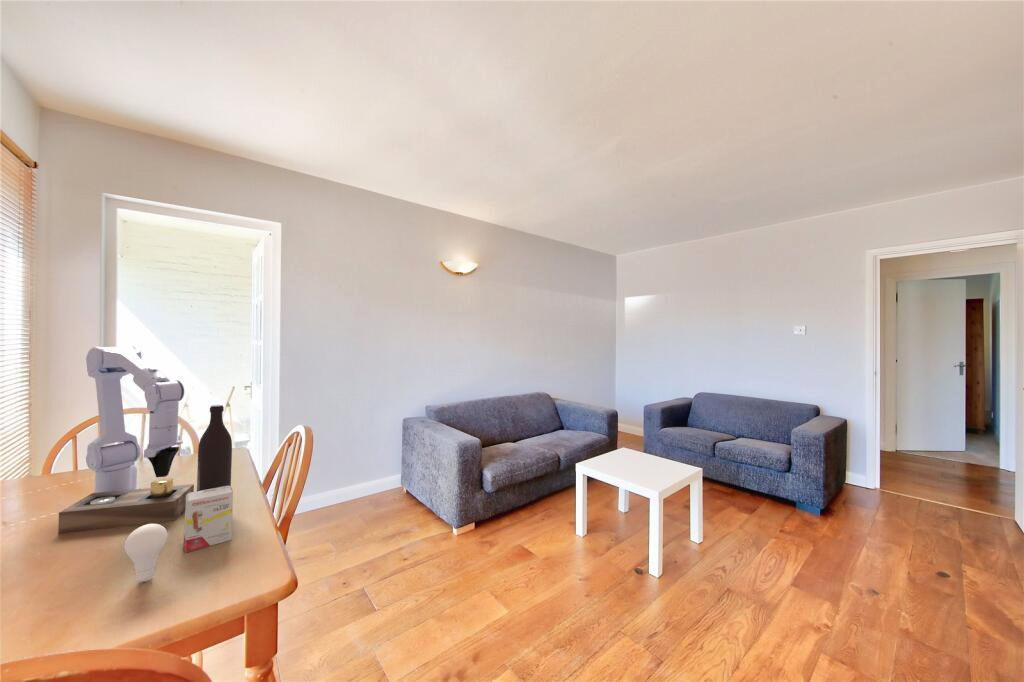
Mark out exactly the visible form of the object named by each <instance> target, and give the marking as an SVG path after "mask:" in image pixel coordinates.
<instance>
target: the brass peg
mask: <svg viewBox="0 0 1024 682" xmlns="http://www.w3.org/2000/svg"><path fill="white" fill-rule="evenodd" d="M173 486H174V479H173V478H160V479H157V480H153V481H151V483H150V488H151V495H150V499H154V498H164V497H170V496H171V495H172V494H173Z"/></svg>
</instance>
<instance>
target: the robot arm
mask: <svg viewBox="0 0 1024 682" xmlns="http://www.w3.org/2000/svg"><path fill="white" fill-rule="evenodd" d="M85 360H86V372H87V376H88V377H90V378H93V379H95V388H96V398H97V408H98V420H99V430H100V431H99V432H100V435H99V436H98V437H96V438H95V439H94V440H93V441H90V443H89V444H88V445H87V447H86V449H87V453H86V456H85V463H86V467H88V469H89V470H91V471H94V472H95V473H94V474H95V475H94V493H98V492H110V491H121V490H133V489H141V487H137V478H138V475H137V474H138V473H137V472H138V469H137V467H136V465H135V462H137V461H138V460H139V458H140V456H141V453H142V452H141V447H140V444H139V442H138V437H137V436H136V435H133V434H131V433H129V432H127V431H126V426H125V415H124V407H123V396H122V387H121V386H122V385H121V379H122V378H123V377H124V376H128V375H132V376H133V377H132V381H133V383H134V384H135V385H136V386H138V388H139V389H141V390H142V391H143V392H144V399H145V402H146V408H147V411H149V423H148V424H149V425H148V443H147V445H146V448H145V449H144V450H143V458H146V459H148V460H149V462H150V463H151V465H152V468H153V471H154V475H155V478H164V477H165V478H166V477H167V476H168V475H169V473H170V470H171V467H172V464H173V462H174V459H175V456H176V455H177V453H178V452H179V450H180V447H179V446H178V445H182V444H184V443H183V440H181V435H179V431H178V430H179V429H178V428H179V402H180V401H182V400H183V398H184V396H185V387H184V385H183V383H182V382H181V380H175V379H174V380H173V379H169V378H168V377H167V376H166V375H164V374H163V373H162V372H161V371H160V370H159V369H158V368H157V367H152V366H151V367H150V366H148V365H147V364H146V363H145V362H144V361H143V359H142V353H141V350H140V349H139V348H138V347H137V346H105V347H103V346H93V347H91V348H90V349H89V350H88V352H87V354H86V357H85ZM115 443H117V444H115ZM110 444H111V445H110Z"/></svg>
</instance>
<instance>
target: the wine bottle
mask: <svg viewBox="0 0 1024 682" xmlns="http://www.w3.org/2000/svg"><path fill="white" fill-rule="evenodd" d="M224 407H225V406H223V404H213V405H210V407H209V413H210V419H209V424H208V426H207V427H206V429H205V431H204V432H203V433H202V435H201V437H200V440H199V441H198V450H197V474H196V476H197V477H196V491H202V490H207V489H213V488H218V487H223V486H231V487H232V461H233V459H232V457H233V442H232V440H233V439H232V436H231V434H230V432H229V431H228V429H227V428H226V426H225V424H224V420H223V412H224V409H225V408H224Z"/></svg>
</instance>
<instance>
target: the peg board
mask: <svg viewBox="0 0 1024 682" xmlns="http://www.w3.org/2000/svg"><path fill="white" fill-rule="evenodd" d="M194 487H195V484H193V483H192V484H191V483H190V484H181V485H173V494H172V495H171V496H170V497H164V498H154V499H150V495H151V487H147V488H140V489H133V490H121V491H110V492H98V493H95V492H92V493H90V494H89V495H87V496H85V497H83V498H81V499H80V500H78V501H76V502H75V503H73V504H71V505H69V506H68V507H66V508H65V509H63V510H61V511H59V512H58V525H57V526H58V527H57V530H58V531H57V532H58V533H57V534H65V533H74V532H84V531H90V530H92V531H93V530H99V529H100V530H101V529H108V528H115V527H116V528H117V527H118V528H120V527H127V526H135V525H136V526H137V525H146V524H155V523H161V522H169V521H170V522H171V521H175V520H176V519H177V518H178V517H179V516H180V515H181V514H182V513H183V512H185V506H186V495H187V494H188V493H191V492H195V488H194ZM103 497H115V500H113V501H112V502H110V503H101V504H91V505H90V502H91V501H93V500H95V499H99V498H103Z"/></svg>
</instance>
